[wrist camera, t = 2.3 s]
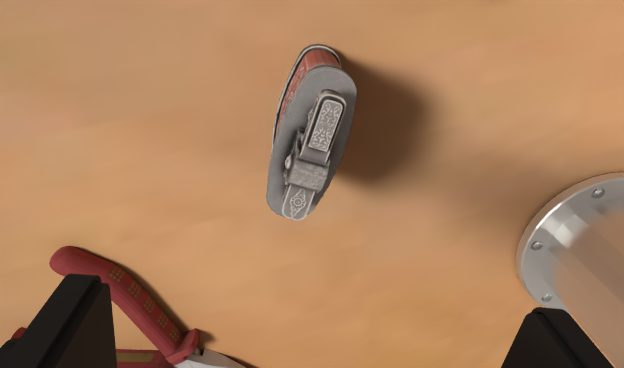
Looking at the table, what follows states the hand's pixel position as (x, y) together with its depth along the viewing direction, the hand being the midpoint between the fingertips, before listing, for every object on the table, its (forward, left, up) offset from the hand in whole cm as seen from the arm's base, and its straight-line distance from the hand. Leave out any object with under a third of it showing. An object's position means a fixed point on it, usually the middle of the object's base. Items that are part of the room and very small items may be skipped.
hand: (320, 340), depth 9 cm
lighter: (0, 0, -20) cm, 20 cm away
